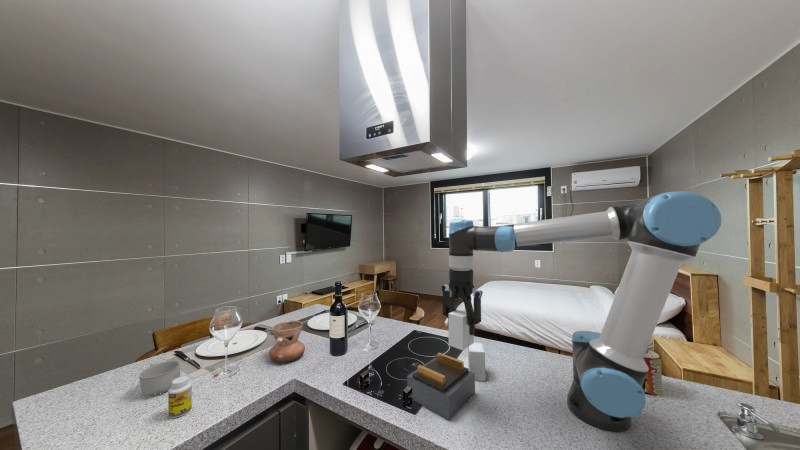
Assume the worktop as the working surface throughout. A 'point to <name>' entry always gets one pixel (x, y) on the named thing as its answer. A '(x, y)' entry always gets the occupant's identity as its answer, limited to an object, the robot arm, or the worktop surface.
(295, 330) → the ceramic jug
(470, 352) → the small box
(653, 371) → the beverage can
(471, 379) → the grey fixture base
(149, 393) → the gray oval bowl
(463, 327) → the block
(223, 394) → the worktop surface
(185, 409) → the supplement bottle
